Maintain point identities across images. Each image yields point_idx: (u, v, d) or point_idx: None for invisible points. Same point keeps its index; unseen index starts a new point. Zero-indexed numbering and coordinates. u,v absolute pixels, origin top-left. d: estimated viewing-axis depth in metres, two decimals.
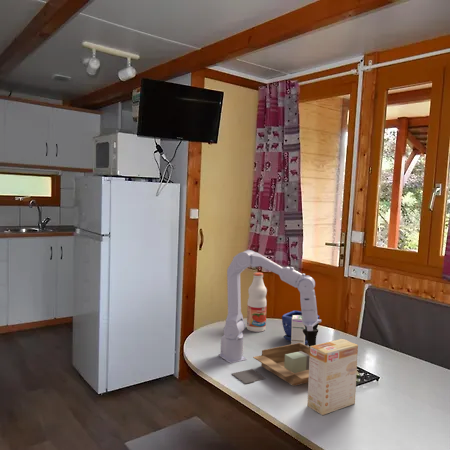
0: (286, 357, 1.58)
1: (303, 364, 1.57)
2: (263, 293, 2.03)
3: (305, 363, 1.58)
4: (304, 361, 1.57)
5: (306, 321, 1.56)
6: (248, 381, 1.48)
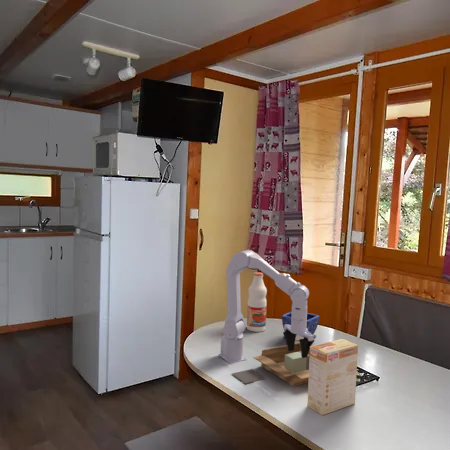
0: (286, 357, 1.58)
1: (303, 364, 1.57)
2: (263, 293, 2.03)
3: (305, 363, 1.58)
4: (304, 361, 1.57)
5: (300, 331, 1.55)
6: (248, 381, 1.48)
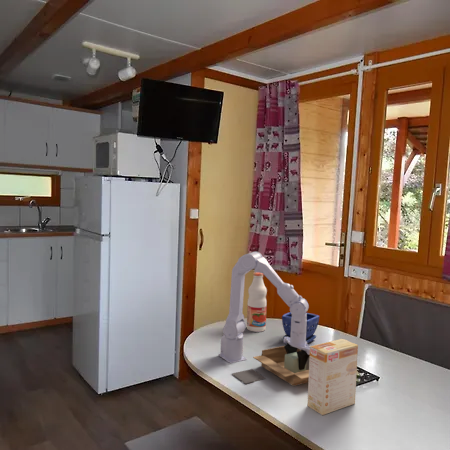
0: (286, 357, 1.58)
1: None
2: (263, 293, 2.03)
3: None
4: None
5: (299, 344, 1.55)
6: (248, 381, 1.48)
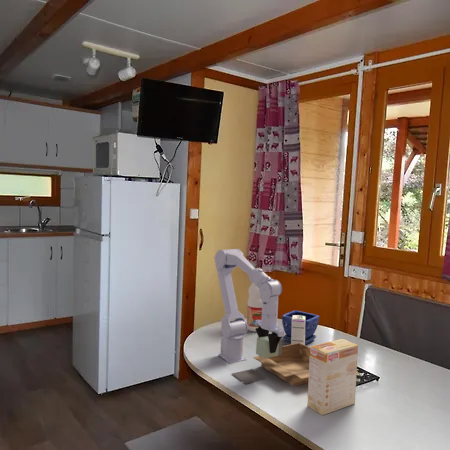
0: (258, 340, 1.54)
1: None
2: None
3: (278, 346, 1.54)
4: None
5: (270, 326, 1.51)
6: (248, 381, 1.48)
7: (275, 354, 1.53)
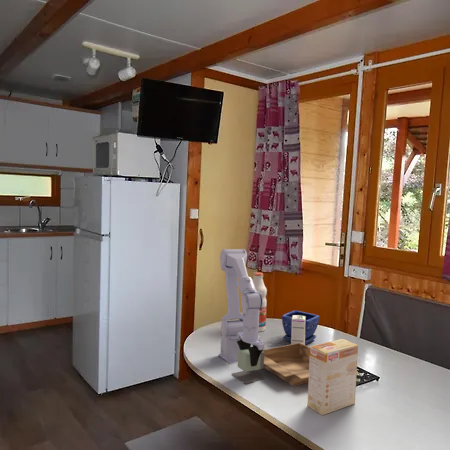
0: (240, 353, 1.52)
1: None
2: (263, 293, 2.03)
3: (260, 360, 1.51)
4: None
5: (251, 339, 1.49)
6: (248, 381, 1.48)
7: (257, 367, 1.51)
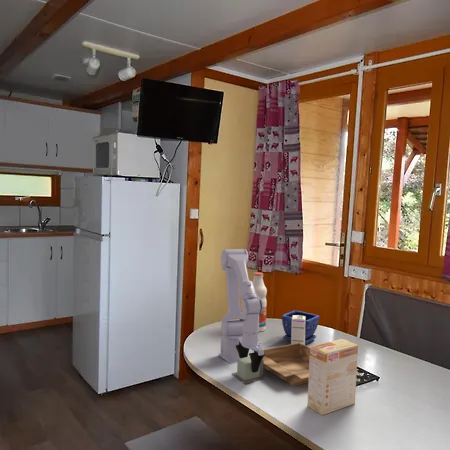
0: (239, 362, 1.52)
1: None
2: (263, 293, 2.03)
3: (259, 367, 1.52)
4: None
5: (251, 345, 1.49)
6: (248, 381, 1.48)
7: (256, 375, 1.51)
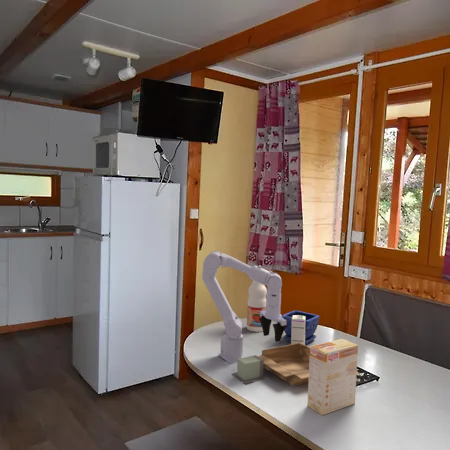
0: (239, 362, 1.52)
1: (256, 369, 1.51)
2: (263, 293, 2.03)
3: (259, 367, 1.52)
4: (257, 366, 1.51)
5: (274, 316, 1.64)
6: (248, 381, 1.48)
7: (256, 375, 1.51)
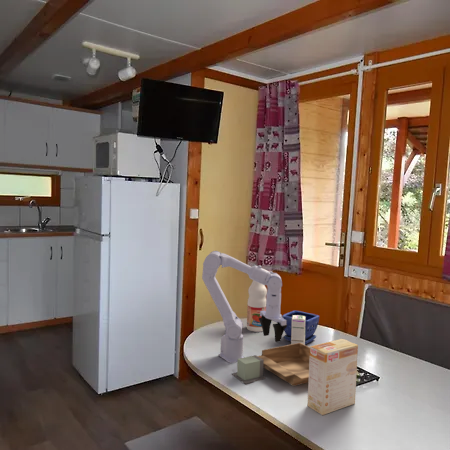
0: (239, 362, 1.52)
1: (256, 369, 1.51)
2: (263, 293, 2.03)
3: (259, 367, 1.52)
4: (257, 366, 1.51)
5: (274, 316, 1.64)
6: (248, 381, 1.48)
7: (256, 375, 1.51)
